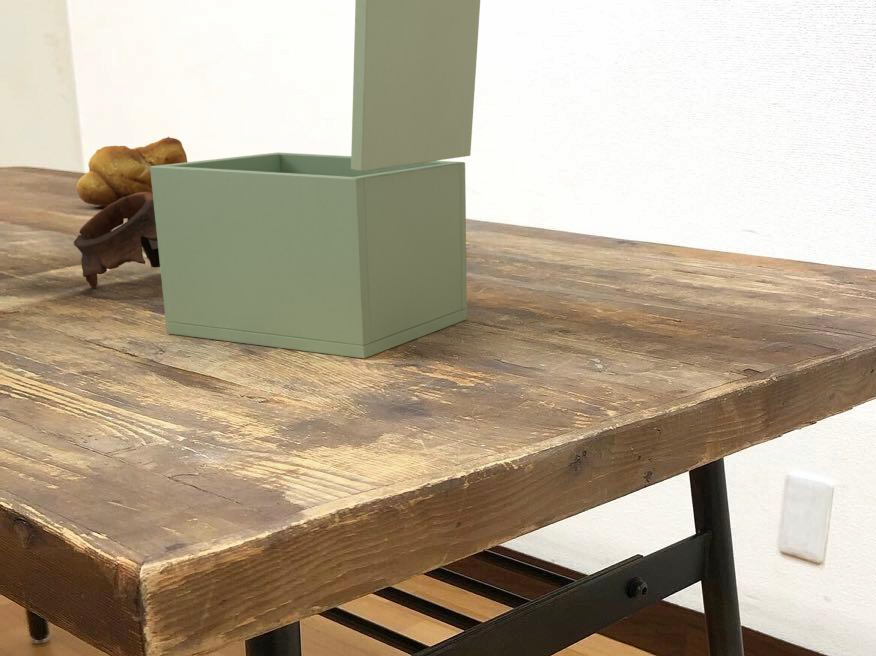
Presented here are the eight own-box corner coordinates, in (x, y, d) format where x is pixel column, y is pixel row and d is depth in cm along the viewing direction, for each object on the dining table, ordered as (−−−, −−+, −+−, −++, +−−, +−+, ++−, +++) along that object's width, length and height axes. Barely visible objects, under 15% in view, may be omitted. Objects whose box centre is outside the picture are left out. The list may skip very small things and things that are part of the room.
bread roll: (83, 211, 143) (74, 139, 140) (72, 202, 151) (63, 134, 148) (196, 207, 148) (189, 137, 145) (179, 198, 156) (172, 132, 153)
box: (166, 333, 83) (149, 166, 79) (287, 299, 94) (277, 152, 90) (364, 358, 77) (356, 178, 73) (467, 319, 88) (465, 162, 84)
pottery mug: (224, 300, 96) (162, 210, 91) (119, 354, 97) (52, 267, 92) (225, 239, 106) (170, 154, 100) (130, 288, 107) (70, 207, 101)
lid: (358, -146, 66) (371, -146, 66) (476, -116, 78) (488, -116, 77) (350, 169, 73) (361, 171, 72) (460, 154, 84) (470, 155, 84)
